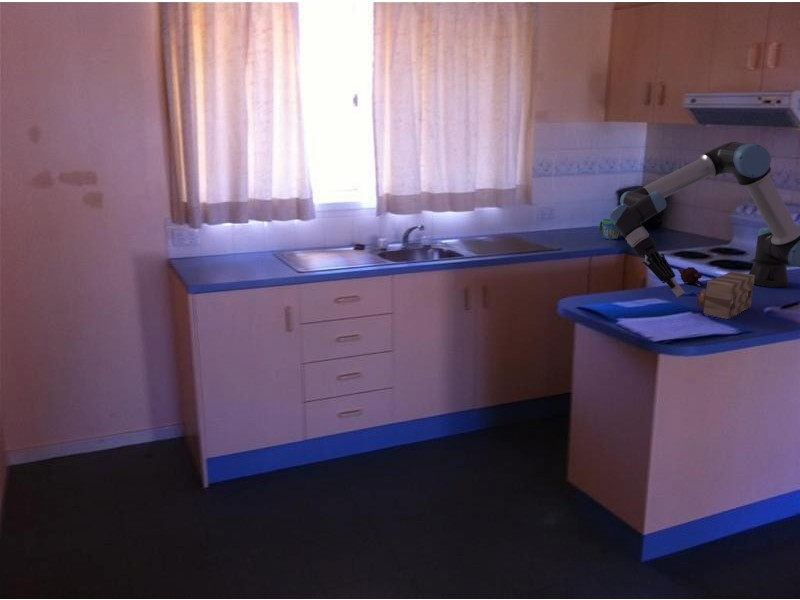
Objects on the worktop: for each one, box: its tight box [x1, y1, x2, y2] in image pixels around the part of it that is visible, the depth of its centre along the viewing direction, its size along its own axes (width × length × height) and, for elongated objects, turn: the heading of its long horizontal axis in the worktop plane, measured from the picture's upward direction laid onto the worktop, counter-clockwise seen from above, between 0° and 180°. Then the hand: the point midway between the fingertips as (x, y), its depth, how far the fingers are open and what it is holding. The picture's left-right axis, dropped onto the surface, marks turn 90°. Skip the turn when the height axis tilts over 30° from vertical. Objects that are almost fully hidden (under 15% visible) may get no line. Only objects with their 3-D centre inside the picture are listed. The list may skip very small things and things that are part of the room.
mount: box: [702, 271, 755, 319], centre depth 249 cm, size 22×8×12 cm, turn 136°
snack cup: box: [598, 218, 623, 241], centre depth 386 cm, size 16×10×10 cm
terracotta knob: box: [697, 288, 734, 308], centre depth 245 cm, size 6×10×6 cm, turn 46°
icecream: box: [677, 266, 703, 285], centre depth 290 cm, size 7×7×15 cm
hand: (680, 294), depth 254 cm, fingers closed
